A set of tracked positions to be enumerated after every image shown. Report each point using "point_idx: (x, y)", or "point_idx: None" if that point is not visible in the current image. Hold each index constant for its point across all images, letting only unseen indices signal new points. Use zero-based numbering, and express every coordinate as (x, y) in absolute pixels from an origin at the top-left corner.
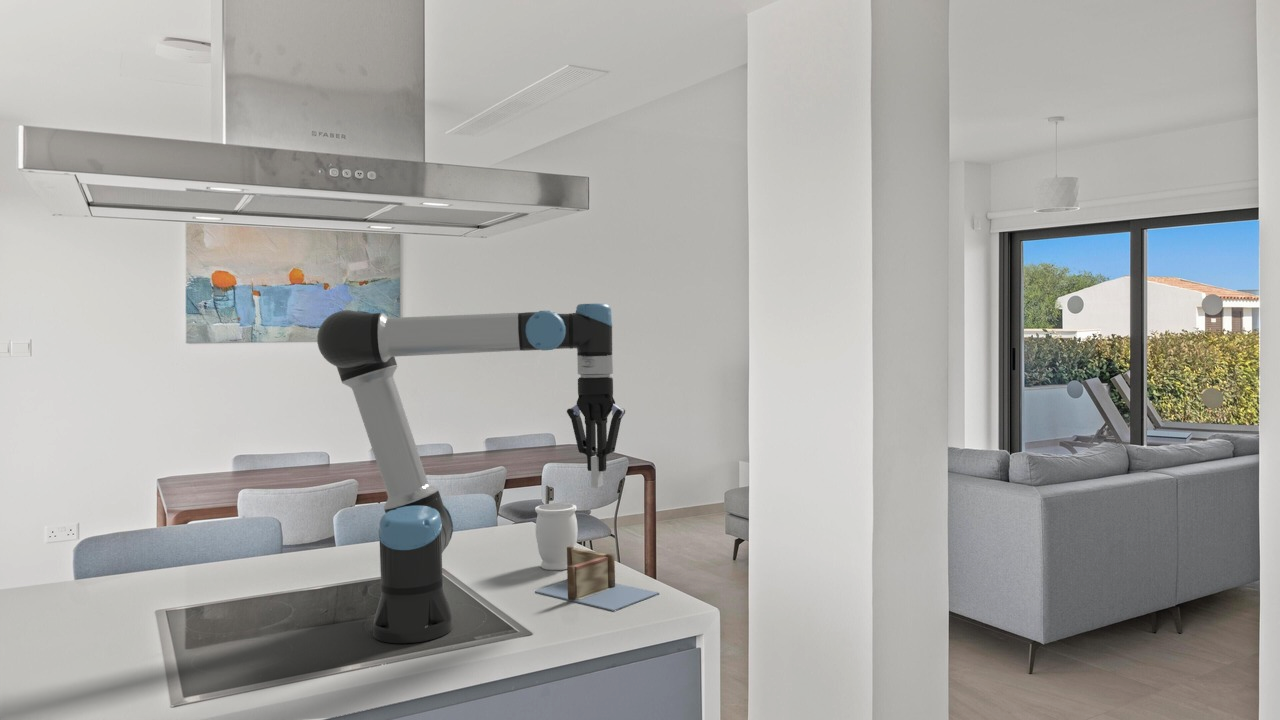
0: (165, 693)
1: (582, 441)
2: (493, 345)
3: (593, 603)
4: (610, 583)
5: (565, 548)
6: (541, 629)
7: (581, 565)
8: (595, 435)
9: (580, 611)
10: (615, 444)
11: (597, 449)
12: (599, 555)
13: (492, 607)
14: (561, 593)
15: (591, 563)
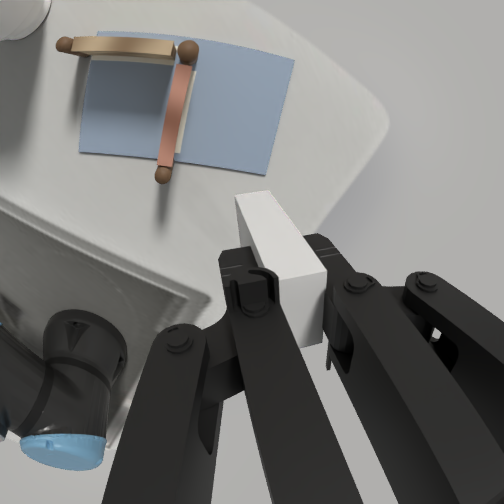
0: None
1: (214, 453)
2: None
3: (215, 160)
4: (192, 64)
5: (31, 10)
6: (209, 281)
7: (174, 151)
8: (334, 440)
9: (213, 196)
10: (473, 309)
11: (341, 377)
12: (159, 54)
13: (81, 244)
14: (128, 138)
15: (180, 119)
